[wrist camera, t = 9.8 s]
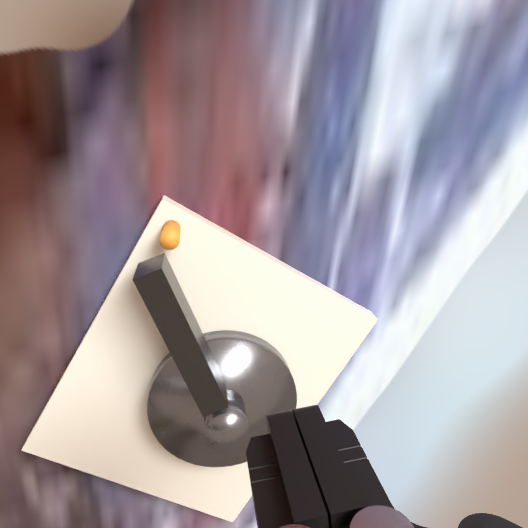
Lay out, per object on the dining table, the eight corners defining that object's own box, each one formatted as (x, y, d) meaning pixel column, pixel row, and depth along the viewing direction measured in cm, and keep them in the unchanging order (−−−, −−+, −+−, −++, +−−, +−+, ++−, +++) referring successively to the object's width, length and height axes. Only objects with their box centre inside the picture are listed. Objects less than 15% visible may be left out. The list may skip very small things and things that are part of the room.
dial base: (231, 508, 40) (236, 554, 36) (27, 436, 35) (5, 481, 31) (370, 311, 36) (394, 337, 32) (163, 195, 31) (159, 208, 26)
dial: (310, 421, 36) (326, 461, 32) (184, 472, 36) (183, 520, 32) (229, 220, 30) (236, 238, 26) (75, 281, 30) (57, 309, 25)
